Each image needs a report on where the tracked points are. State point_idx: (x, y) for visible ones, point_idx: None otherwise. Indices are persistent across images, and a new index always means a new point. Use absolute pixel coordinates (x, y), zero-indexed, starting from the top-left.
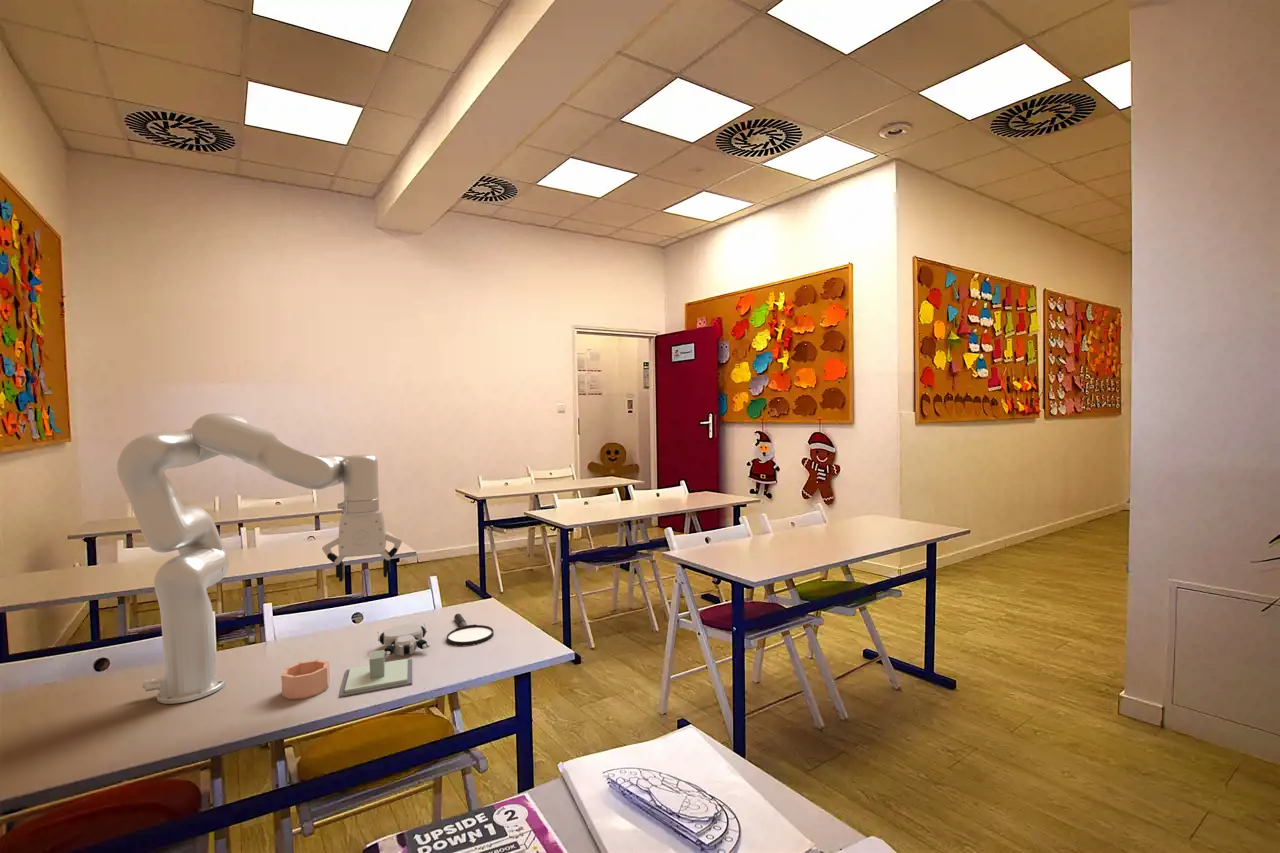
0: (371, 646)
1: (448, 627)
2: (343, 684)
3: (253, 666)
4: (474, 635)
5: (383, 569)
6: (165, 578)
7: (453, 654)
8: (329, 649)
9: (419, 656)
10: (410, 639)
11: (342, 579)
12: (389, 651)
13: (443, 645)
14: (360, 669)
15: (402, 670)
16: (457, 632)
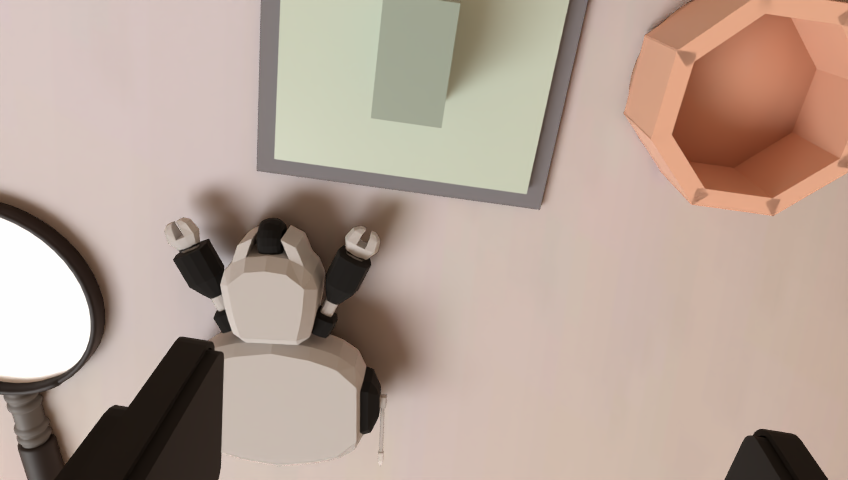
0: (414, 418)
1: None
2: (575, 34)
3: (838, 458)
4: None
5: (178, 418)
6: None
7: (68, 130)
8: (566, 472)
9: (225, 198)
10: (241, 283)
11: (758, 445)
12: (348, 248)
13: (118, 267)
14: (487, 150)
15: (303, 12)
16: (53, 360)
